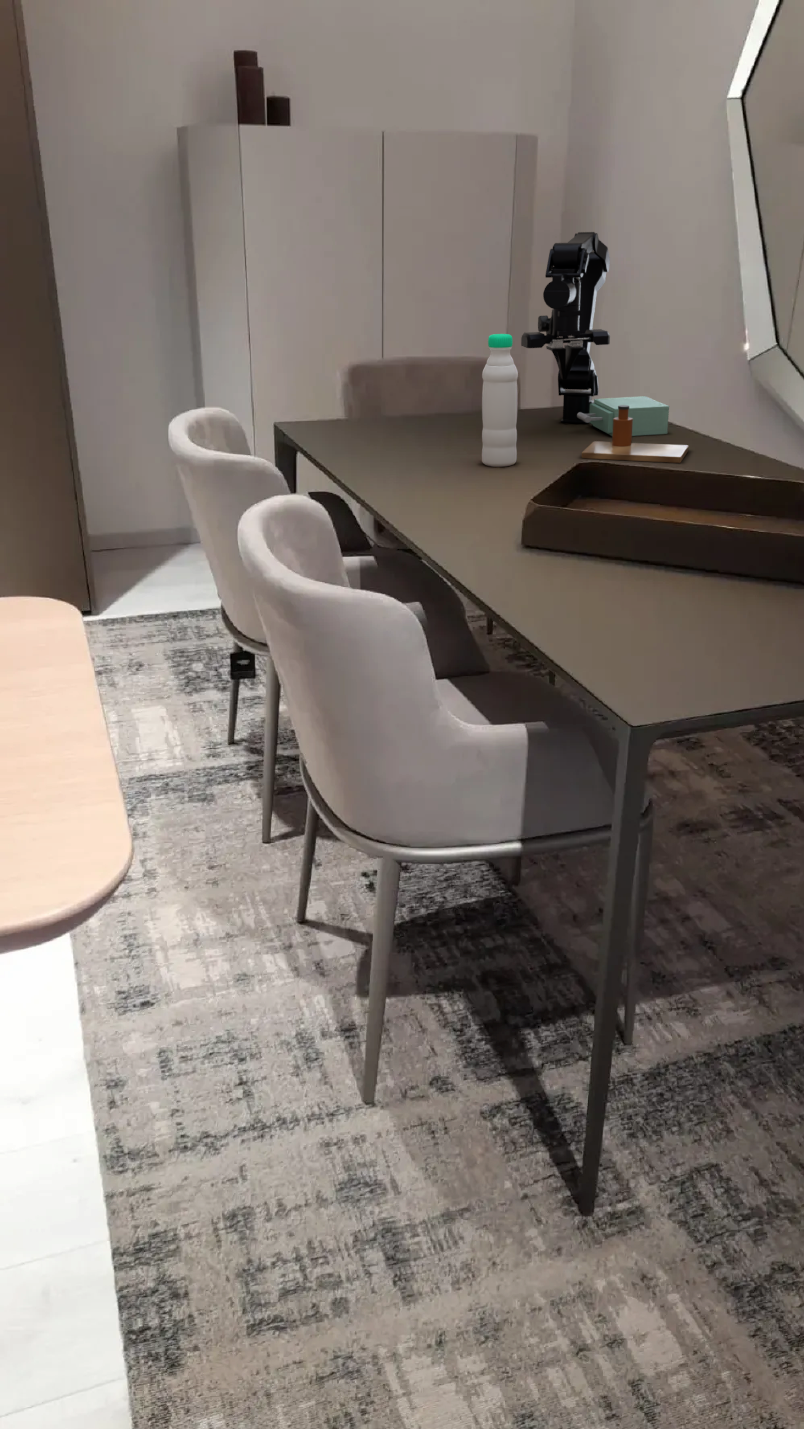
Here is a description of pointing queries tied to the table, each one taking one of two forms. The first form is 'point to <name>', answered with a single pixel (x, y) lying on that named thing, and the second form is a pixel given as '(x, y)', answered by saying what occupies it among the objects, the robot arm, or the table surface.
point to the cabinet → (640, 414)
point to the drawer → (599, 417)
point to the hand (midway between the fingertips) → (563, 379)
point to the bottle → (622, 428)
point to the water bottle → (499, 404)
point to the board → (636, 452)
